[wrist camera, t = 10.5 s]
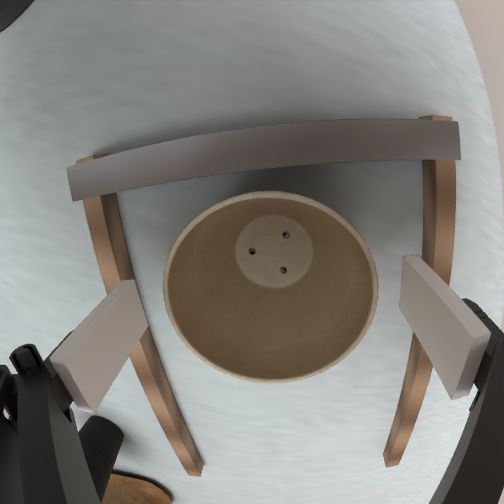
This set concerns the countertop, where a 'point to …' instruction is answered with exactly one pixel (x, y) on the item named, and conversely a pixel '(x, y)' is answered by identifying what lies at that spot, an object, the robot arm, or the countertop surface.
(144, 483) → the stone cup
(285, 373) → the flower pot
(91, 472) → the drinking cup
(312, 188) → the countertop surface
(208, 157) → the channel
